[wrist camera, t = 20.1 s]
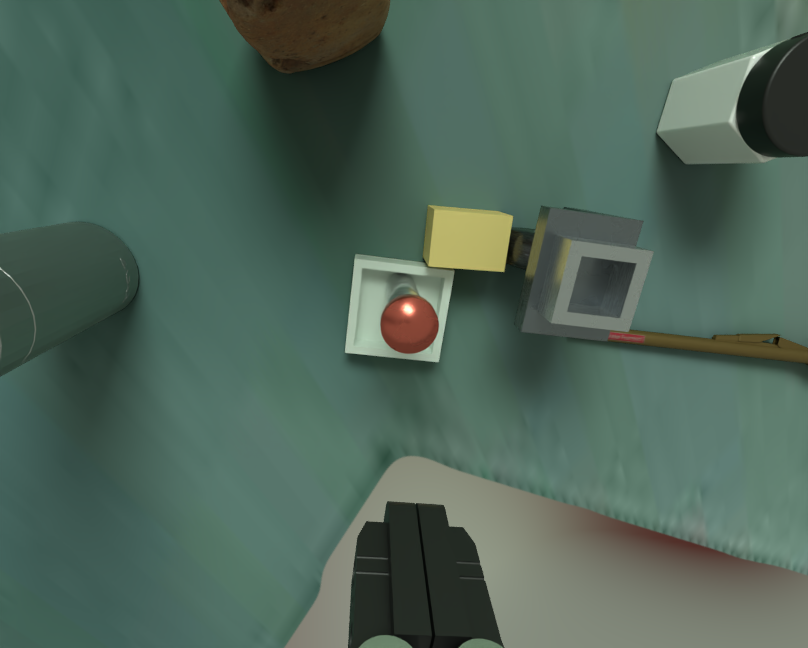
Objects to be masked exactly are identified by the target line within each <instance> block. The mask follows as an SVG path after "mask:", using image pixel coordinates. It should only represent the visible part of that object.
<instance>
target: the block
mask: <svg viewBox="0 0 808 648" xmlns="http://www.w3.org/2000/svg"><path fill="white" fill-rule="evenodd" d="M219 1H220V2H221V4H222V5H223V7H224V9H225V10H226V12H227V14H228V15H229V17H230V18H231V20H232V21H233V23H234V25H235V27H236V29H237V30H238V32H239V33H240V34H241V35H242V36H243V37H244V39H245V40H246V41H247V42H248V43H249V44H250V45H251V46H252V47H253V48H255V49H256V50H257V51H258V52H259V53H260V54H261V55H262V57H263V58H264V59H265V60H266V61H267V62H268V64H269V65H271V66H272V67H273V68H275V69H276V70H278V71H279V72H282V73H290V74H291V73H294V72H300V71H305V70H310V69H314V68H317V67H321V66H324V65H327V64H330V63H333V62H335V61H338V60H340V59H342V58H344V57H347V56H349V55H351V54H353V53H355V52H356V51H358V50H360V49H362V48H363V47H364V46H366V45H367V44H369V43H370V42H371V41H373V40H374V39H375V38H376V37H377V36H378V35H379V34H380V33H381V31H382V29H383V26H384V24H385V21H386V19H387V16H388V11H389V6H390V0H219Z"/></svg>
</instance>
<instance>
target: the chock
mask: <svg viewBox="0 0 808 648" xmlns="http://www.w3.org/2000/svg"><path fill="white" fill-rule="evenodd" d="M512 220H513V216H511V215H508V214H505V213H502V212H499V211H488V210H477V209H465V208H454V207H442V206H431V205H428V210H427V220H426V229H425V239H424V249H423V258H424V260H425V261H426V263H427V265H428V266H430V267H444V268H457V269H471V270H484V271H498V272H504V270H505V264H506V257H507V251H508V245H509V239H510V233H511V226H512Z"/></svg>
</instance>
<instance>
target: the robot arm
mask: <svg viewBox="0 0 808 648" xmlns="http://www.w3.org/2000/svg"><path fill="white" fill-rule="evenodd" d="M138 279H139V275H138V269H137V265H136V262H135V260H134V257H133V255H132V254H131V252H130V251H129V249H128V247H127V246H126V245H125V244H124V243H123V242H122V241H121V240H120V239H119V238H118V237H117V236H115V235H114V234H113V233H111V232H110V231H108V230H106V229H104V228H102V227H100V226H97V225H94V224H91V223H85V222H70V223H63V224H57V225H51V226H45V227H38V228H32V229H27V230H21V231H15V232H9V233H3V234H0V377H1V376H3V375H5V374H6V373H8V372H10V371H12V370H13V369H15V368H17V367H19V366H20V365H22V364H24V363H26V362H28V361H30V360H31V359H33V358H35V357H37V356H39V355H40V354H42V353H44V352H46V351H48V350H49V349H51V348H53V347H55V346H57V345H59V344H60V343H62V342H64V341H66V340H68V339H69V338H71V337H73V336H75V335H77V334H78V333H80V332H82V331H84V330H86V329H88V328H89V327H91V326H93V325H95V324H97V323H99V322H100V321H102V320H104V319H106V318H107V317H109V316H111V315H113V314H114V313H116V312H118V311H120V310H122V309H123V308H125V307H126V306H127V305H128V304H129V303H130V302H131V300H132V299H133V297H134V296H135V294H136V291H137V287H138ZM348 641H349V642H348V648H504V646H503V643H502V641H501V637H500V634H499V630H498V627H497V623H496V619H495V615H494V612H493V608H492V605H491V601H490V597H489V594H488V590H487V586H486V583H485V581H484V575H483V571H482V568H481V566H480V560H479V556H478V553H477V549H476V545H475V543H474V542H473V540H472V539H471V538H470V536H469V535H468V533H467V532H466V531H465V529H464V528H463V527H449V525H448V520H447V515H446V511H445V507H444V505H436V504H421V503H416V504H415V503H405V502H389V501H388V502H387V504H386V510H385V516H384V522H383V523H382V522H368V521H367V522H366V523H365V525H364V527H363V528H362V530H361V532H360V533H359V535H358V538H357V545H356V553H355V561H354V568H353V576H352V584H351V604H350V623H349V640H348Z"/></svg>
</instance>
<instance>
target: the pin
mask: <svg viewBox="0 0 808 648" xmlns="http://www.w3.org/2000/svg"><path fill="white" fill-rule="evenodd" d="M386 296H387V305H386V306H385V308H384V309H383V311H382V314H381V319H380V326H381V334H382V337H383V339H384V341H385V342H386V343H387V345H388V346H389V347H391V348H392V349H394V350H395V351H397V352H400V353H405V354H413V353H418V352H421V351H423V350H425V349H426V348H428V347H429V346H430V345H431V344H432V343H433V342H434V340H435V338H436V337H437V334H438V330H439V320H438V317H437V314H436V312H435V310H434V308H433V306H432V305H431V304H430V302H428V301H427V300H426V299H424V298H423V297H421V296H420V295H419V292H418V290H417V287H416V284H415V282H414V279H413V278H412V277H411V276H410V275H409V274H407V273H399V272H397V273H394V274H392V275H391V276H390V277H389V278H388V279H387V281H386Z"/></svg>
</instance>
